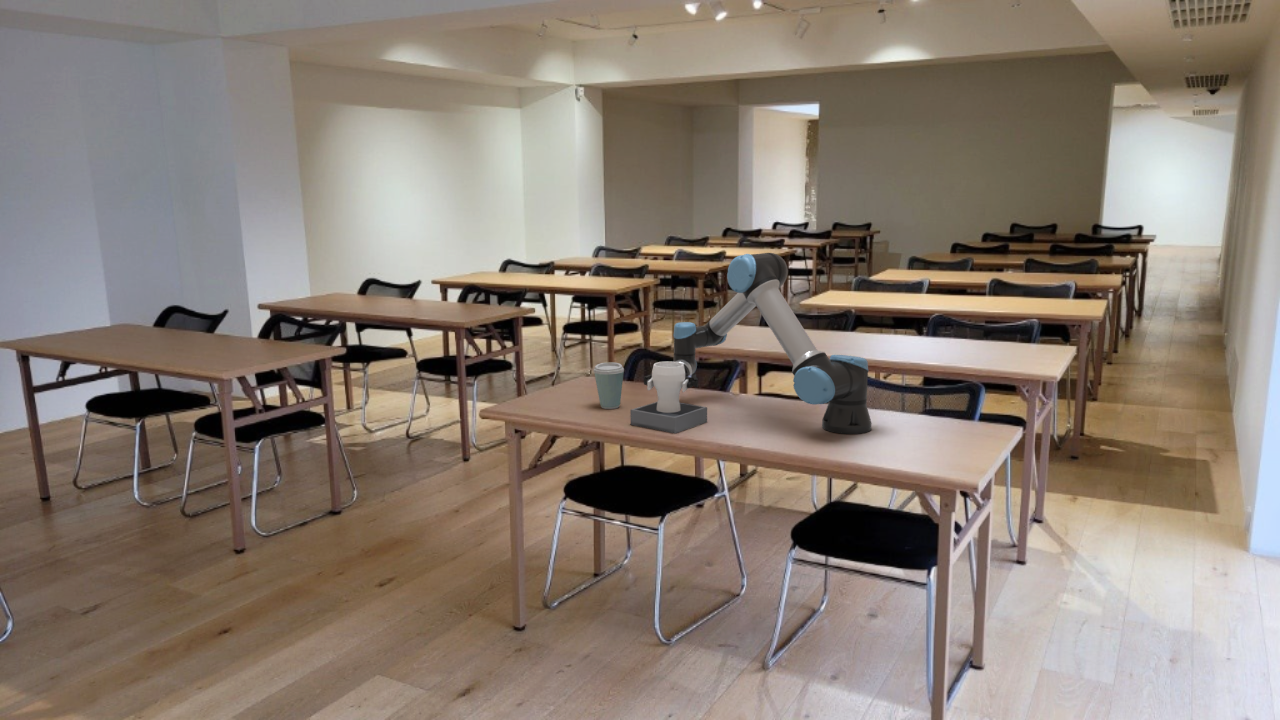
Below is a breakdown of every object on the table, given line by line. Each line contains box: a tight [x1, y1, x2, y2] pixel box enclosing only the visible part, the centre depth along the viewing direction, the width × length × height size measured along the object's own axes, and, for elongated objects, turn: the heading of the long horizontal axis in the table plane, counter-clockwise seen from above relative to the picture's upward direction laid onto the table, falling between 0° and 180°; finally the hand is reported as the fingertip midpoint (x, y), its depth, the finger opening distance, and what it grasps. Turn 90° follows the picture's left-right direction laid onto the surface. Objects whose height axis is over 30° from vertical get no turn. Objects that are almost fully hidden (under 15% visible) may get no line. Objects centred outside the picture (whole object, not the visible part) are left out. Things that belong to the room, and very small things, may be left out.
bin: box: [630, 401, 708, 435], centre depth 295 cm, size 18×18×5 cm
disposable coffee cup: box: [593, 361, 625, 410], centre depth 316 cm, size 11×11×15 cm
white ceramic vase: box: [651, 361, 685, 413], centre depth 293 cm, size 11×11×15 cm
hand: (665, 387), depth 289 cm, fingers closed on white ceramic vase, 11 cm apart
